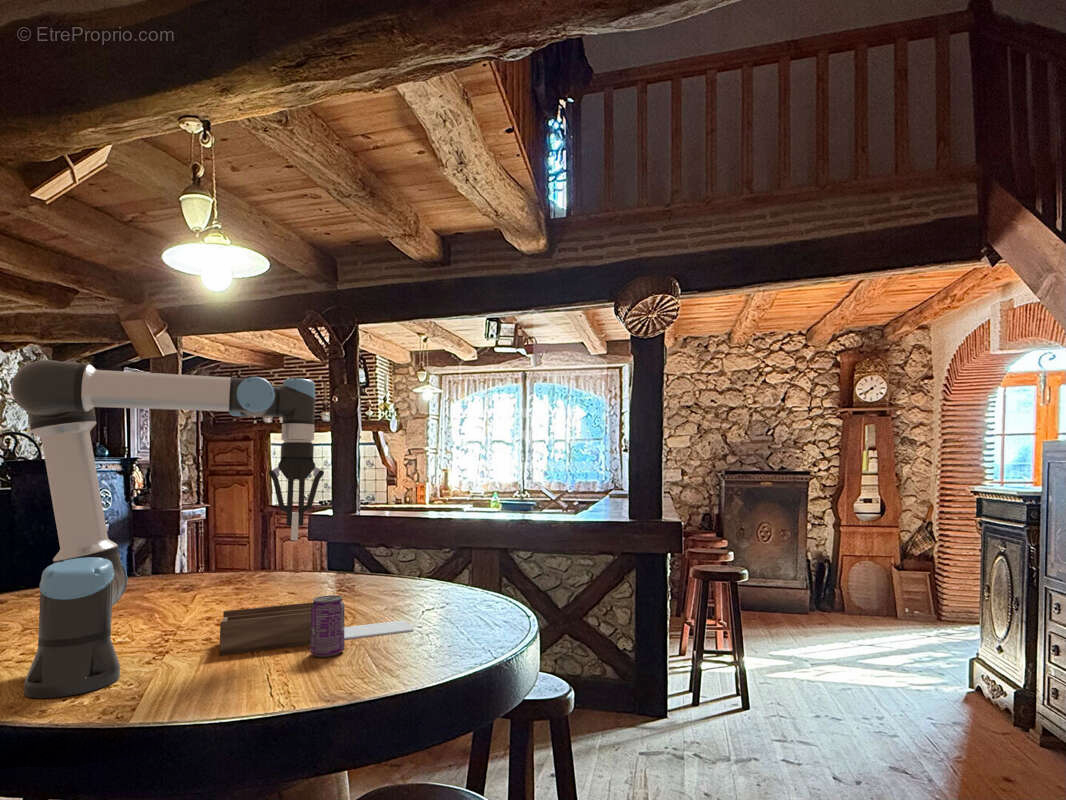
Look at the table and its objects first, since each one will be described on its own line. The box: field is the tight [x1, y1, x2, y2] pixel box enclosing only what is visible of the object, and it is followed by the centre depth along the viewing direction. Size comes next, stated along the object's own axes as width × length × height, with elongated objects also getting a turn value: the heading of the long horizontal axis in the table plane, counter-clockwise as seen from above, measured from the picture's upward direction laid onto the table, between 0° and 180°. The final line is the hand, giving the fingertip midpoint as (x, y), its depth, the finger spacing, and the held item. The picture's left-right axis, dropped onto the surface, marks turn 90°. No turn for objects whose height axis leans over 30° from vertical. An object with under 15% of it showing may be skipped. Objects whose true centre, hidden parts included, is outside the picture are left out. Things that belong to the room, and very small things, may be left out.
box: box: [219, 601, 314, 657], centre depth 153 cm, size 12×22×7 cm, turn 112°
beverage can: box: [310, 594, 345, 658], centre depth 143 cm, size 7×7×12 cm
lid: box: [344, 619, 414, 641], centre depth 161 cm, size 11×21×4 cm, turn 113°
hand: (294, 539), depth 156 cm, fingers closed
